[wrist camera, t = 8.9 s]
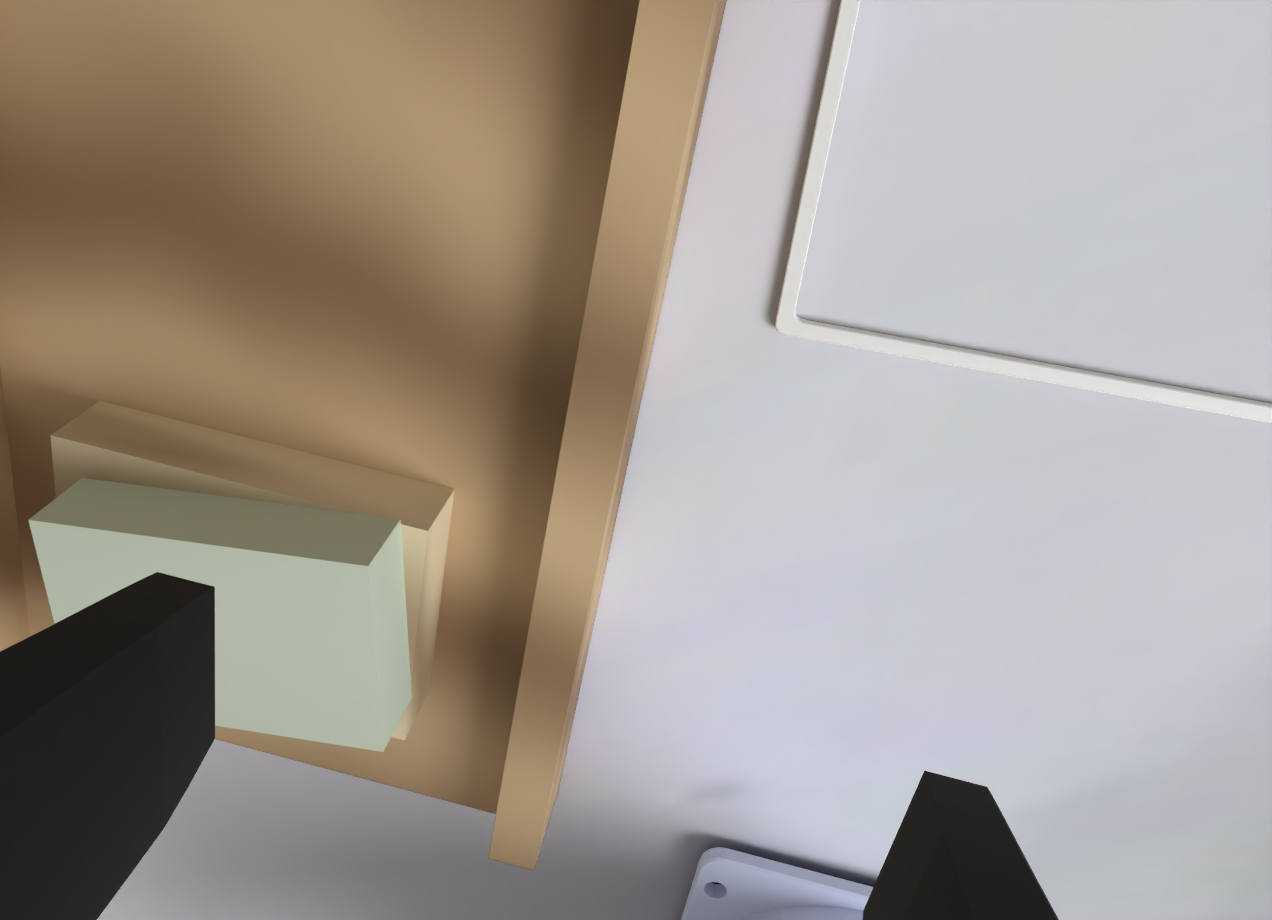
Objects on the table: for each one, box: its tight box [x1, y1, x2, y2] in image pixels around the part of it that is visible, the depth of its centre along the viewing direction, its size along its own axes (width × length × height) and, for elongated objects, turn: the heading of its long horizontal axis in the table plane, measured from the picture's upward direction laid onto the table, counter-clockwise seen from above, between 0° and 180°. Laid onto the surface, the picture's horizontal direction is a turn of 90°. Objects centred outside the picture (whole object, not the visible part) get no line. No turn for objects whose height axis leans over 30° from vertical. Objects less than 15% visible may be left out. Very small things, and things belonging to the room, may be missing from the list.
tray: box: [0, 0, 726, 870], centre depth 19 cm, size 22×13×2 cm, turn 169°
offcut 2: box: [28, 478, 412, 752], centre depth 20 cm, size 4×6×2 cm, turn 87°
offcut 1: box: [50, 401, 454, 740], centre depth 21 cm, size 5×7×2 cm
